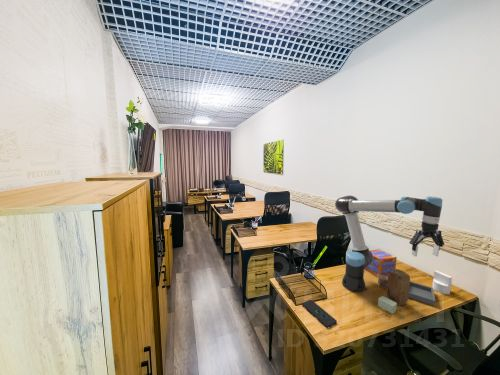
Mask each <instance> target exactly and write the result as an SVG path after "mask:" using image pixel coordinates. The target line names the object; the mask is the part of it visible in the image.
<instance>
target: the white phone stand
mask: <svg viewBox="0 0 500 375" xmlns="http://www.w3.org/2000/svg"><path fill="white" fill-rule="evenodd" d="M433 273H434V274H433V278H432V288H433V291H436V292H437V293H440V294H443V295H450V294H451V289H452V280H453V276H450V275H449V274H446V273H444V272H441V271H440V270H434V272H433Z"/></svg>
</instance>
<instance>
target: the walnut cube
mask: <svg viewBox="0 0 500 375" xmlns="http://www.w3.org/2000/svg"><path fill="white" fill-rule="evenodd" d="M377 283H378V286H379V288H383V289H384V288H385V289H387V287H388V276H382V275H379V276H378V277H377Z"/></svg>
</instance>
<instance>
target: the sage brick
mask: <svg viewBox="0 0 500 375" xmlns="http://www.w3.org/2000/svg"><path fill="white" fill-rule="evenodd" d="M377 306H378V308H379V307H380V308H381V309H383V310H385V311H387V312H388V313H390V314H391V315H394V313H395V312H397V306H398V304H397V303H396V302H394V301H392V300H391V299H390V298H389V297H387V296H383V295H382V296H380V297H379V298H378V301H377Z"/></svg>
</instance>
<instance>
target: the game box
mask: <svg viewBox="0 0 500 375" xmlns="http://www.w3.org/2000/svg"><path fill="white" fill-rule="evenodd" d="M369 251H371V253H372V254H373V261H372V263H371V264H370V265H368V266H367V267H366V268H365V269H364V271H367V272H369V274H370V273H371V274H372V275H373V276H375V277H376V278H378V276H379V275H382V276H388V275H389V273H390V271H391V270H394V269H397V256H395V255H393V254H391V253H389V252H386V251H384V250H382V249H380V248H379V249H377V248H376V249H372V250H371V249H369Z"/></svg>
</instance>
